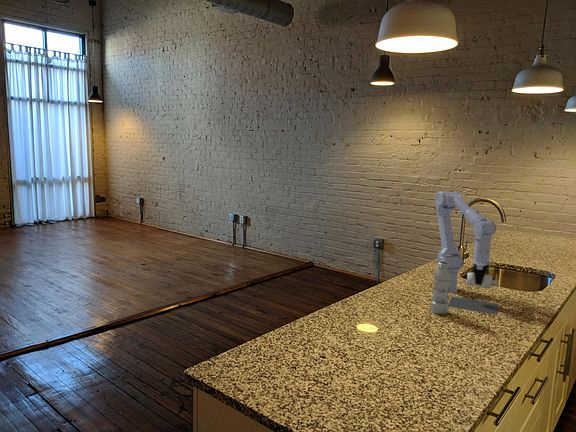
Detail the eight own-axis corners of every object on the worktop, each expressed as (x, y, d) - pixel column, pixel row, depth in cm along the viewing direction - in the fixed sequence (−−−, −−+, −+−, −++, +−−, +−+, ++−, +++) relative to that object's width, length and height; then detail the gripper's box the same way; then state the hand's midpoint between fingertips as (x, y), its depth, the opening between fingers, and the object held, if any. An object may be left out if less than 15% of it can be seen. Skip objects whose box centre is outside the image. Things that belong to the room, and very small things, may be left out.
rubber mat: (447, 307, 177) (447, 306, 177) (451, 297, 189) (452, 296, 189) (497, 316, 169) (497, 315, 169) (498, 305, 181) (498, 304, 181)
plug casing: (465, 284, 181) (466, 274, 180) (466, 282, 185) (467, 271, 184) (497, 289, 176) (498, 279, 175) (498, 287, 180) (499, 276, 179)
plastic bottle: (433, 309, 174) (438, 259, 171) (450, 313, 170) (455, 262, 167) (427, 313, 169) (431, 262, 166) (444, 318, 165) (449, 266, 162)
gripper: (492, 255, 170) (488, 289, 173) (493, 248, 183) (490, 279, 185) (472, 252, 174) (469, 286, 176) (475, 245, 186) (472, 277, 189)
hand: (478, 282), depth 181 cm, fingers closed on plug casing, 4 cm apart
